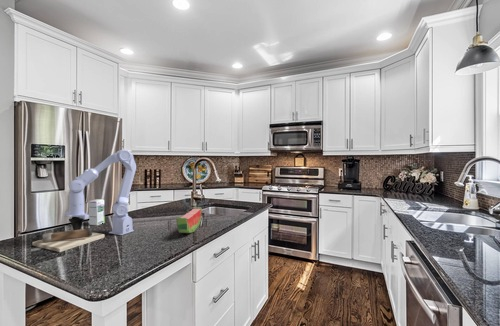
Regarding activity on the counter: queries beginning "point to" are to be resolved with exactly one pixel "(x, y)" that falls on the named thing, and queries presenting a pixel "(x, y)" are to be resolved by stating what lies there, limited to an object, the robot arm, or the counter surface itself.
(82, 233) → the lever
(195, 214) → the fruit slice
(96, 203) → the syrup box
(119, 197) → the robot arm
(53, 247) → the board
